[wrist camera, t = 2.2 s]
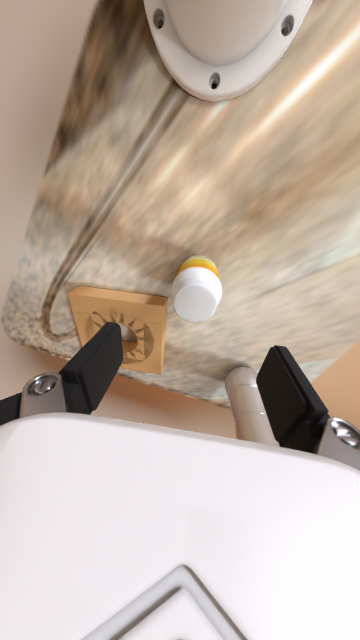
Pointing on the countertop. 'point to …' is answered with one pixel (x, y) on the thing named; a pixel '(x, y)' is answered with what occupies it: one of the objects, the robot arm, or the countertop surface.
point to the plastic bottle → (248, 407)
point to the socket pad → (131, 311)
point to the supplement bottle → (196, 289)
